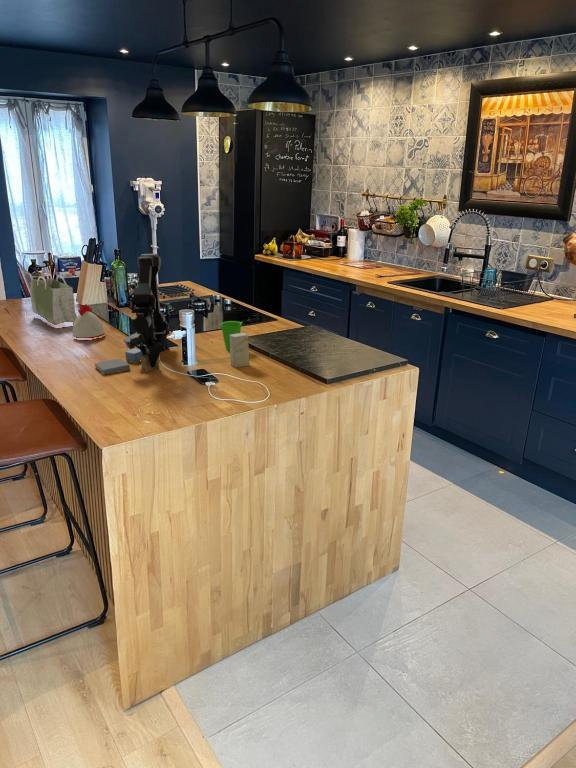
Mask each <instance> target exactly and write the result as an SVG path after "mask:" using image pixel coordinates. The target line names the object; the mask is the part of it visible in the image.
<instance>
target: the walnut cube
mask: <svg viewBox="0 0 576 768" xmlns="http://www.w3.org/2000/svg"><path fill="white" fill-rule="evenodd" d="M140 356H141V361H140V365H141V369H143V370H144V371H146V372H149V371H154V370H155V371H156V370H158V369H160V365H159V358H158V359H157V362H156V364H155V367H153V368H152V367H151V364H150V360H149V356H148V354H144V355H140Z"/></svg>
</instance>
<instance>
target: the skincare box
mask: <svg viewBox="0 0 576 768" xmlns="http://www.w3.org/2000/svg"><path fill="white" fill-rule="evenodd" d="M229 338H230V351H229V353H230V354H229V355H230V356H229V358H230V365H231V366H232V367H233V368H241V367H248V366H250V355H249V352H250V350H249V349H250V348H249V334H248V333H245V332H240V333H237V334H230V335H229Z"/></svg>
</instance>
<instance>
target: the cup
mask: <svg viewBox="0 0 576 768" xmlns="http://www.w3.org/2000/svg"><path fill="white" fill-rule="evenodd" d="M219 325H220V326H221V327H220V328H221V332H222V336H223V341H224V345H225V349H226V351H228V352H230V338H229V335H230V334H237V333H241V331H242V325H243V323H242V321H239V320H238V321H237V320H229V321H224V322H223V321H222V322H221V323H220V324H219Z"/></svg>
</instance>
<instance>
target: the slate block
mask: <svg viewBox="0 0 576 768" xmlns="http://www.w3.org/2000/svg"><path fill="white" fill-rule="evenodd" d="M124 353H125V361H126V360H127V361H126V362H128V361H132V362H131V363H133V362H137V363H139V362H141V361H140V360H141V356H140V355H142V353H141V350H140V349H138V348H133V349H129V350H126V351H125V352H124ZM138 361H139V362H138Z"/></svg>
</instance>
